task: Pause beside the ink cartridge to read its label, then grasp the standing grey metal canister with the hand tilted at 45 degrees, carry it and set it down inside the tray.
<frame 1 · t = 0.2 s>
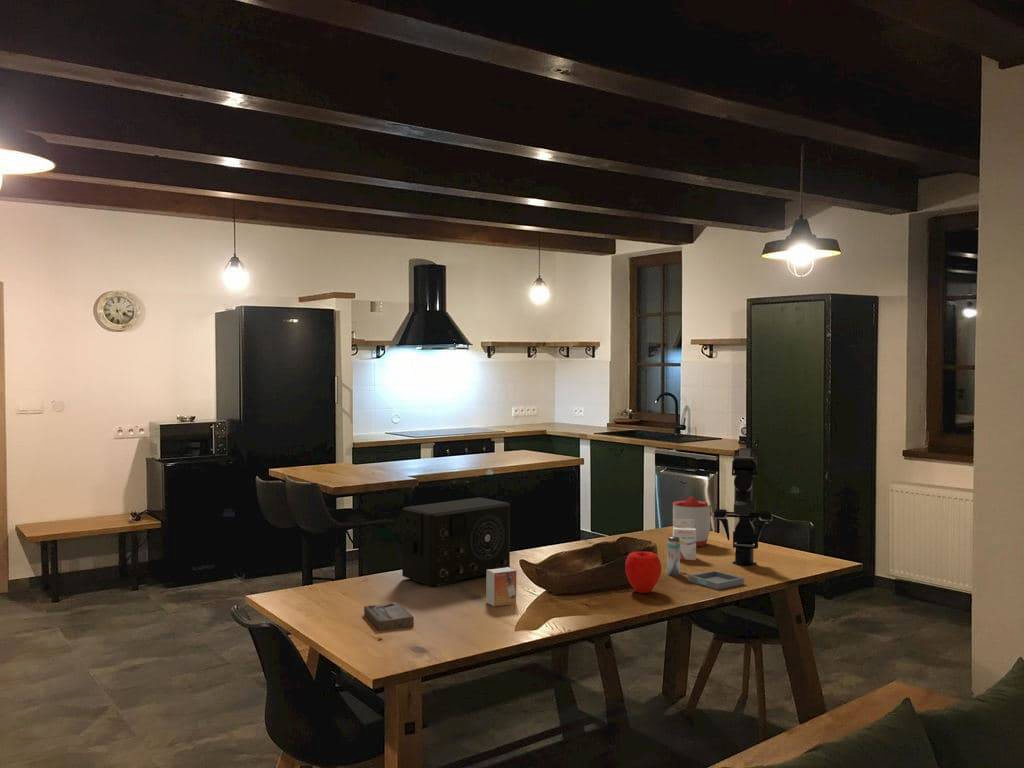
hand: (742, 541, 289), 15 cm above the table, fingers open, 9 cm apart
apple: (643, 592, 284), on the table
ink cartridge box: (684, 559, 332), on the table
small box: (501, 604, 270), on the table
vintage radio: (457, 577, 303), on the table
box: (388, 622, 252), on the table
citrus juicer: (693, 544, 357), on the table
canister: (673, 574, 307), on the table
tray: (715, 582, 295), on the table
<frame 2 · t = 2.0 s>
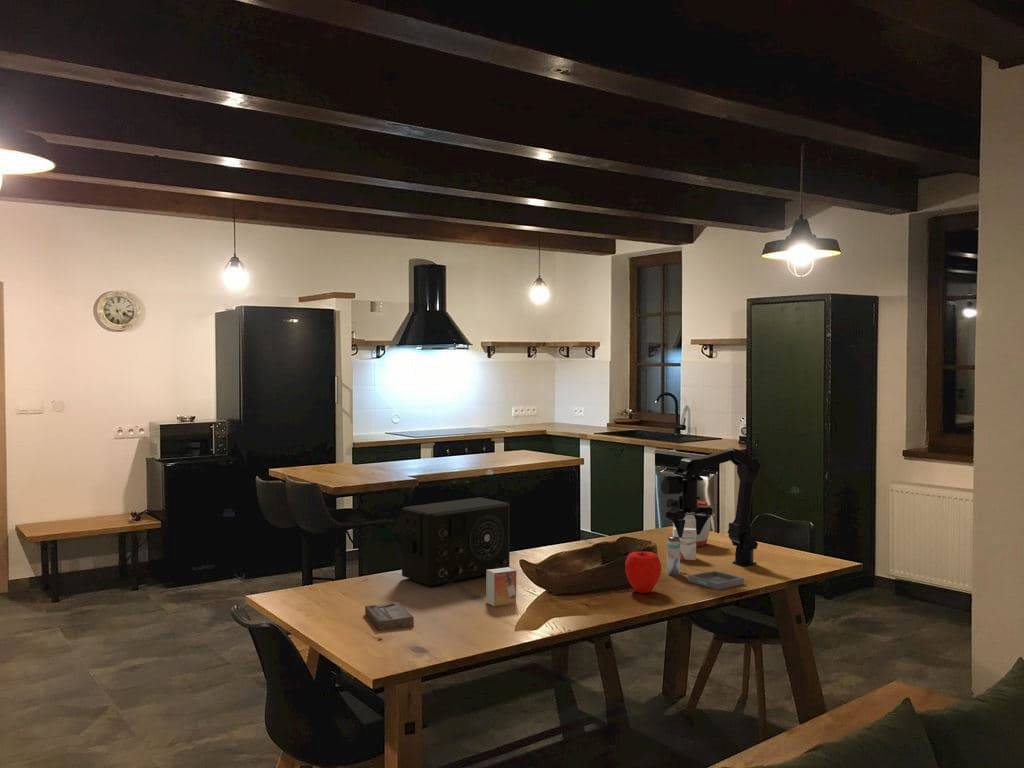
hand: (689, 536, 314), 12 cm above the table, fingers open, 9 cm apart
nothing on the table moved.
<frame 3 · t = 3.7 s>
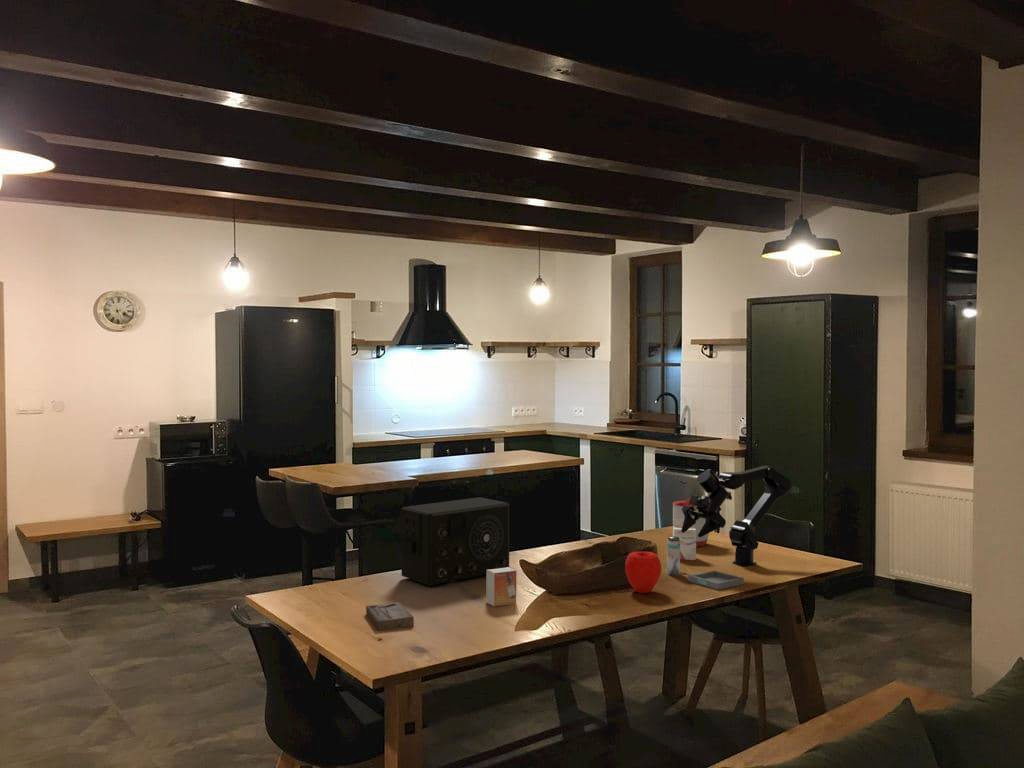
hand: (690, 534, 311), 13 cm above the table, fingers open, 9 cm apart
nothing on the table moved.
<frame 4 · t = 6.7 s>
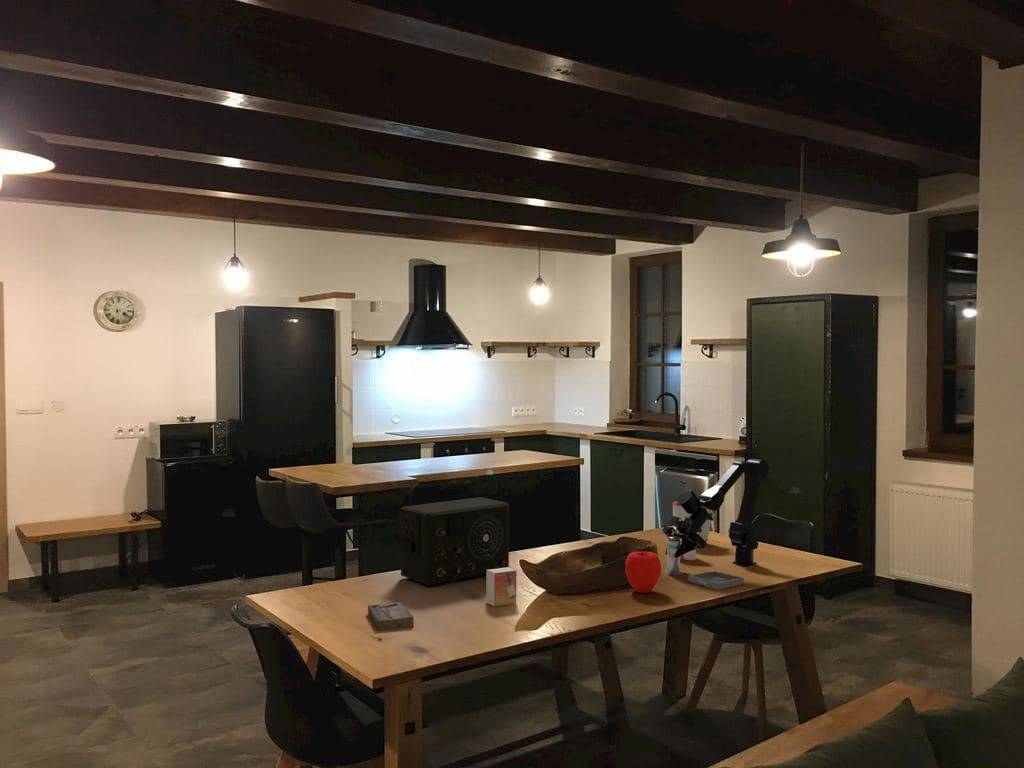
hand: (670, 555, 306), 7 cm above the table, fingers closed on canister, 5 cm apart
canister: (673, 574, 307), on the table, touching gripper
everything else where it was.
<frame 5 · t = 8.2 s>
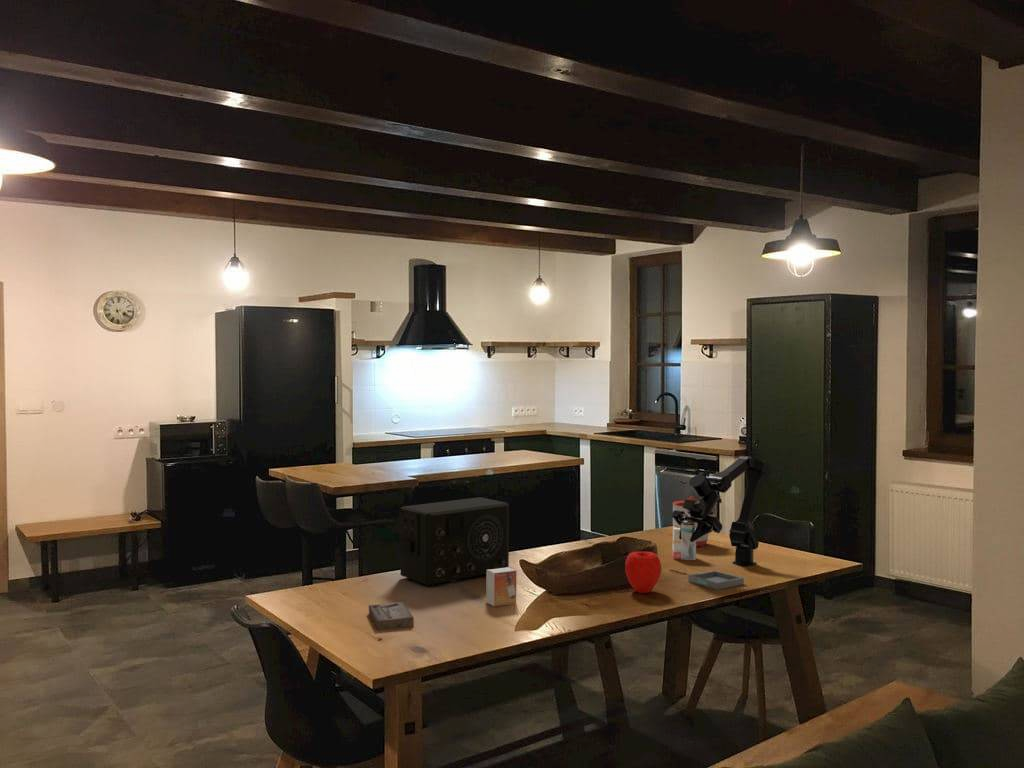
hand: (685, 540, 301), 13 cm above the table, fingers closed on canister, 5 cm apart
canister: (687, 558, 302), point 7 cm above the table, touching gripper
everything else where it was.
when the fingers open (8 cm above the table, at t = 10.1 s): canister drops 1 cm, resting on tray.
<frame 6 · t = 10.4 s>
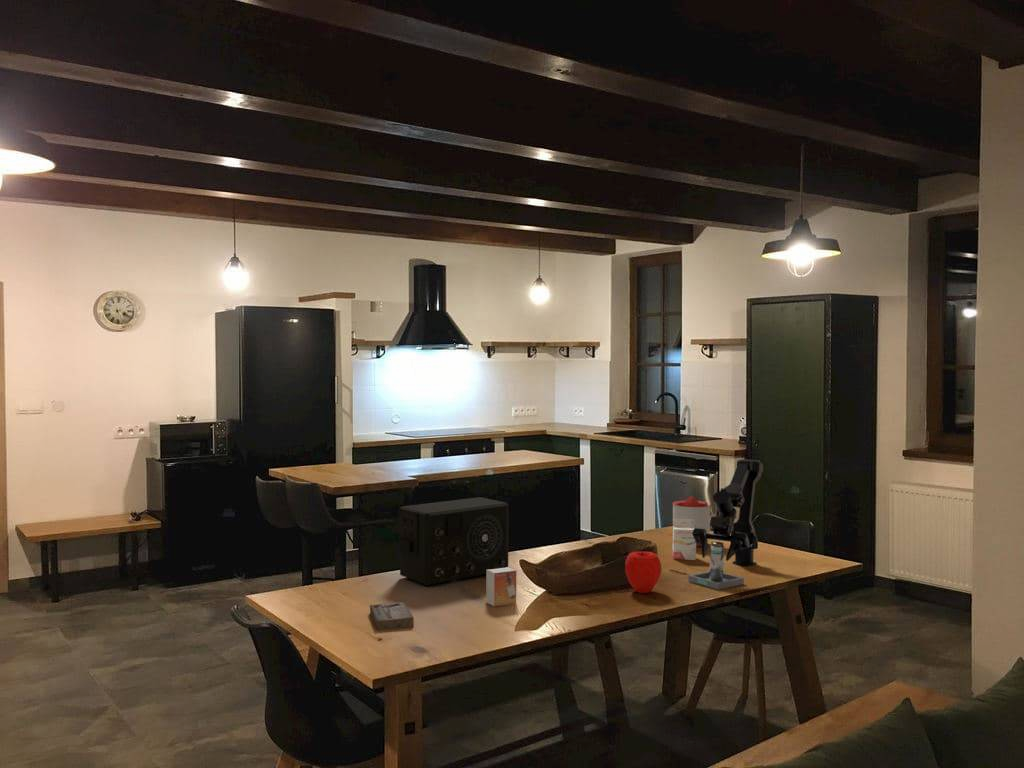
hand: (714, 558, 294), 9 cm above the table, fingers open, 8 cm apart
canister: (716, 580, 295), point 1 cm above the table, touching tray
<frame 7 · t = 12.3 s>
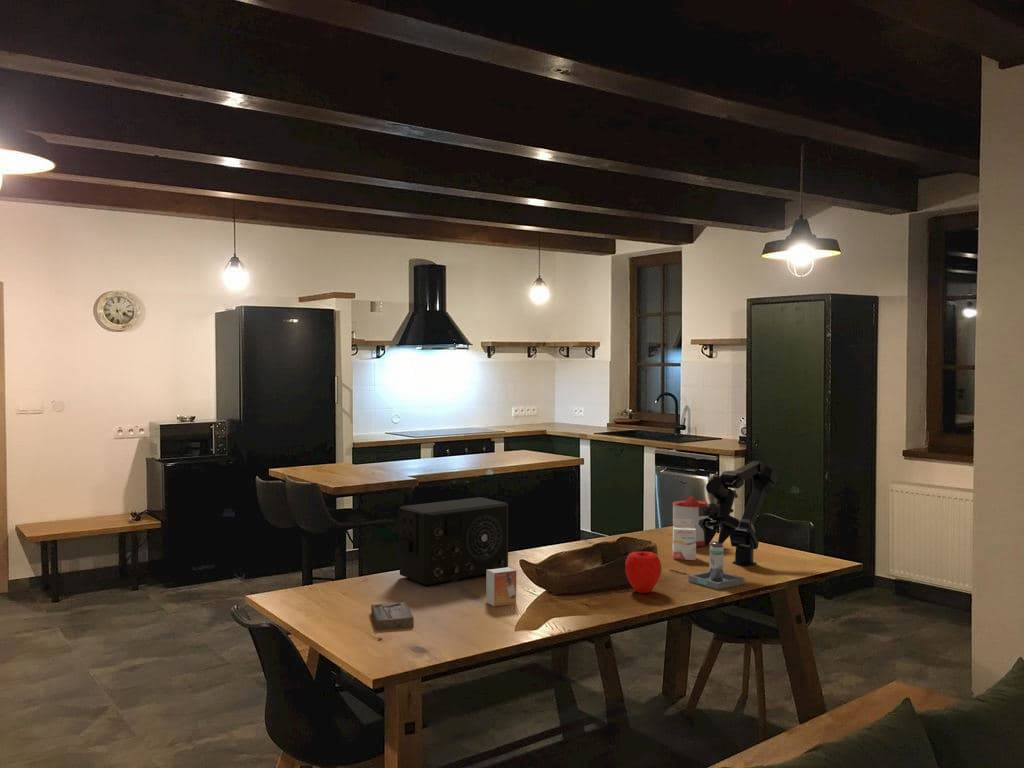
hand: (712, 545, 307), 10 cm above the table, fingers open, 9 cm apart
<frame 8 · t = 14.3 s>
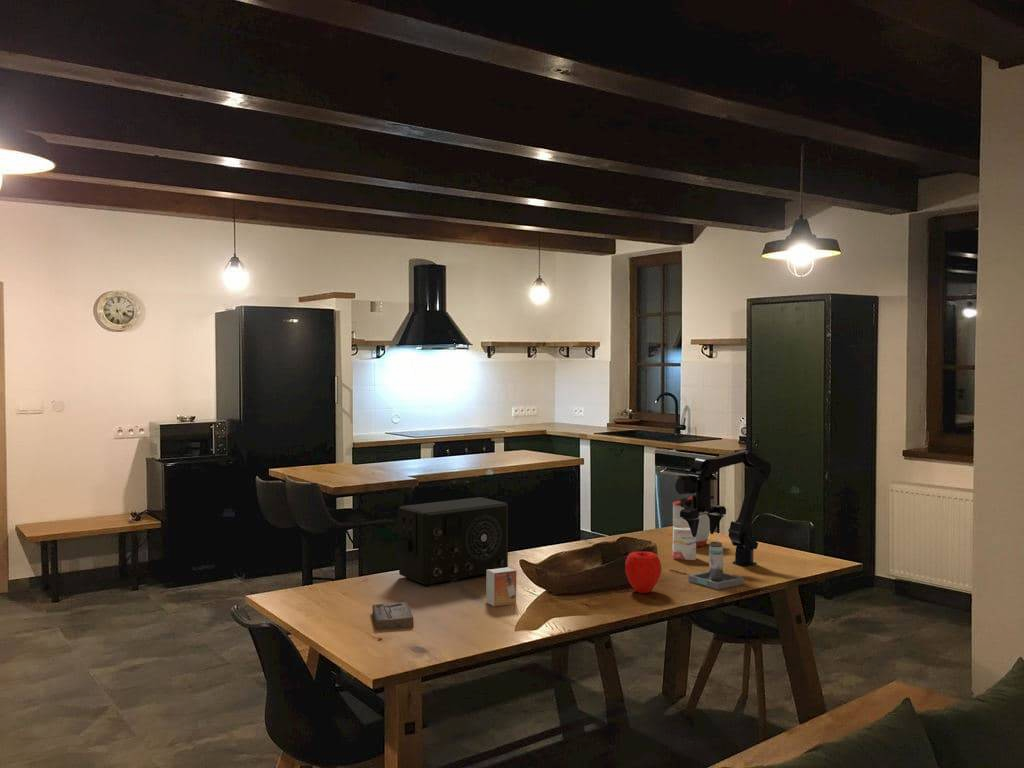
hand: (703, 535, 316), 12 cm above the table, fingers open, 9 cm apart
at the end: canister inside the target area on the tray (0.1 cm from its centre), point 0.6 cm above the tray's base; the gripper is holding nothing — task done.
